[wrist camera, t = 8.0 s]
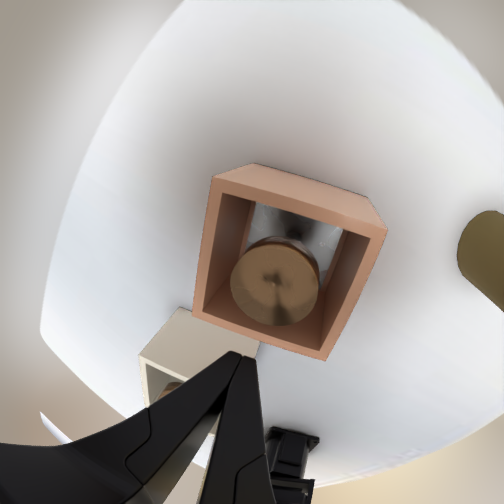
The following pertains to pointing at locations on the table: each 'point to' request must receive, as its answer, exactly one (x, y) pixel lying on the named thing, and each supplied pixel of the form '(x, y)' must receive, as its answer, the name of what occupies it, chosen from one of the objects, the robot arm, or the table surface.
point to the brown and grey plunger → (282, 265)
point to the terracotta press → (235, 240)
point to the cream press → (186, 352)
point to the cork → (484, 255)
